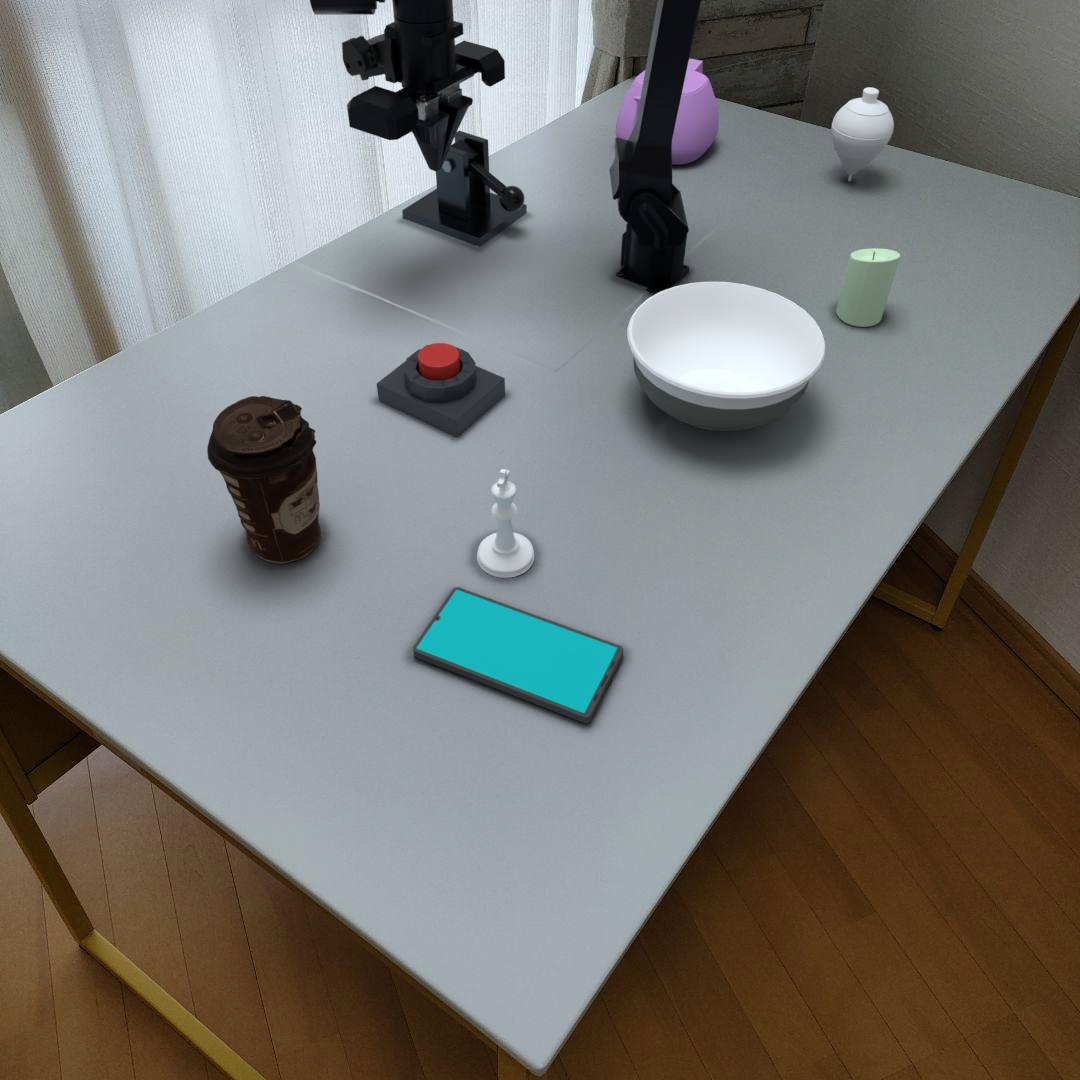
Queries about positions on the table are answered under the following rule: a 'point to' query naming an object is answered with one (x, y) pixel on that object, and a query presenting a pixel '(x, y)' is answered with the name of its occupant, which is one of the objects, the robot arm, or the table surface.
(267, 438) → the coffee cup
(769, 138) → the table surface
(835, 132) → the spinning top
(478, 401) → the control block
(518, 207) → the black lever
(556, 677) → the smartphone
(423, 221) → the lever bracket
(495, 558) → the chess piece
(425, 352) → the red button
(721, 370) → the bowl
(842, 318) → the candle
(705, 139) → the teapot
